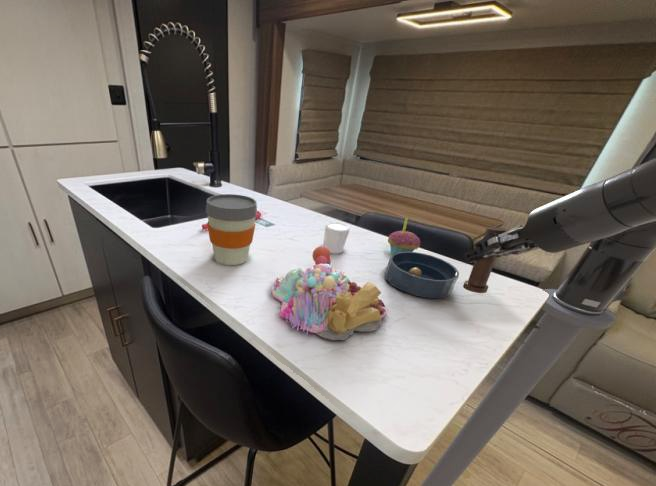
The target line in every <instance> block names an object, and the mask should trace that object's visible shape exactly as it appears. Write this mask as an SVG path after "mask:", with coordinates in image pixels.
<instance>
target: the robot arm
mask: <svg viewBox="0 0 656 486" xmlns="http://www.w3.org/2000/svg"><path fill="white" fill-rule="evenodd" d="M483 237H484V236H483ZM483 237H482V238H481V239H479V240H478V241H477V242H476V243H474V247H475V248H472V249H470V250H467V251H465V252H463V257H464V262H465V263H466V264H470V263H475V261H477V260H480V259H483V258H487V257H489V256H492V255H495V254H496V255H497V258H496V259H498V258H501V257H504V258H505V257H509V256H510V255H513V256H515V255H516V256H518V255H521V254H525V253H528V252H531V251H535V250H538V249H540V250H541V251H544V252H546V253H549V254H550V253H551V254H555V253H556V254H557V253H561V252H564V251H568V250H571V249H573V248H576V247H581V246H583V245H586V244H588V245H587V247H586V248H585V250H584V251H583V253H582V254H581V256H580V257H579V258H578V260H577V261H576V263H575V264H574V265H573V266H572V268H571V269H570V271H569V272H568V274H567V275H566V277H565V278H564V279H563V281H562V282H561V284H560V285H559V287H558V288H557V291H556V292H555V293H554V294H553V296H552V299H553V300H554V301H555V302H556V303H558V304H559V305H561V306H563V307H565V308H567V309H569V310H572V311H574V312H577V313H581V314H585V315H591V316H598V315H600V314H601V313H602V312H605V311H606V309H607V308H608V309H609V307H610V306H611V305H612V304H613V303H614V302H615V301H623V299H624V298H625V297H626V296H627V295H628V294H629V291H628V290H626V289H625V288H626V287H627V286H628V285H629V284H630V282H632V280H633V276H634V275H635V274H636V273H637V271H638V270H639V269H640V268H641V267H642V265H643V264H644V263H645V262H647V259H648V258H649V257H650V256H651V254H652V253H653V252H654V251H655V250H656V131H655V132H654V133H653V135H652V136H651V138H650V140H649V141H648V143H647V145H646V146H645V147H644V149H643V150H642V152H641V154H640V155H639V157H638V158H637V160H636V161H635V163H634V164H633V166H632V167H631V168H630V169H627V170H625V171H622V172H621V173H618V174H616V175H614V176H612V177H609V178H607V179H604V180H601V181H598V182H595V183H592V184H589V185H587V186H584V187H582V188H580V189H578V190H575V191H573V192H571V193H569V194H566V195H564V196H561V197H560V198H558V199H557V198H556V199H555V200H553V201H550V202H548V203H546V204H543V205H542V206H540V207H539V206H538V207H537V208H535V209H533V210H532V211H531V212H530V213H529V215H528V216H527V220H526V223H525V225H517V226H514V227H511V228H509V229H508V230H507V232H505V233H502V234H499V235H498V232H493V233H491V234H489V235H487V236H486V237H484V238H483Z"/></svg>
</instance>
